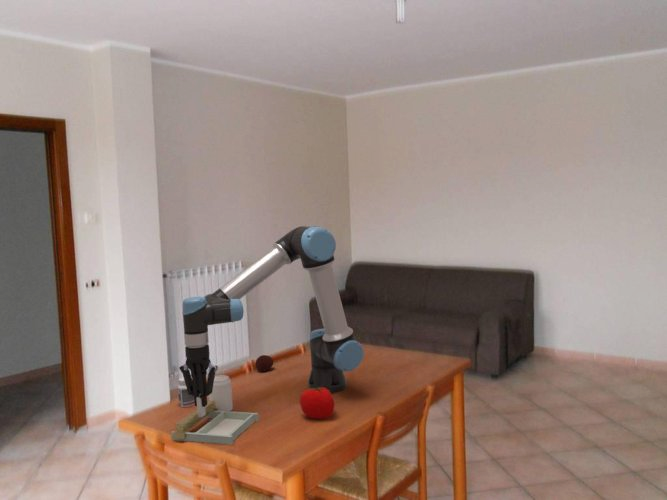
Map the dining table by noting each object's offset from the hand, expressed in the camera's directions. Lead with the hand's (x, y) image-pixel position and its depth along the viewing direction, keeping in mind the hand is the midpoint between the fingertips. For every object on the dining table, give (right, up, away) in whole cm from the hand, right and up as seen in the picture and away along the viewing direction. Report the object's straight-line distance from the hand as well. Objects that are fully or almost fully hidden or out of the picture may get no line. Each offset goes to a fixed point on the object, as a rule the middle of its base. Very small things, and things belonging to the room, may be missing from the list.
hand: (201, 415), depth 192 cm
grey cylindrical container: (+3, -3, +16) cm, 17 cm away
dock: (+5, -4, -1) cm, 7 cm away
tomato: (+38, -2, +7) cm, 39 cm away
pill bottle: (-11, -3, +25) cm, 27 cm away
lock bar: (-2, -3, +1) cm, 4 cm away
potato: (+13, +1, +64) cm, 65 cm away
